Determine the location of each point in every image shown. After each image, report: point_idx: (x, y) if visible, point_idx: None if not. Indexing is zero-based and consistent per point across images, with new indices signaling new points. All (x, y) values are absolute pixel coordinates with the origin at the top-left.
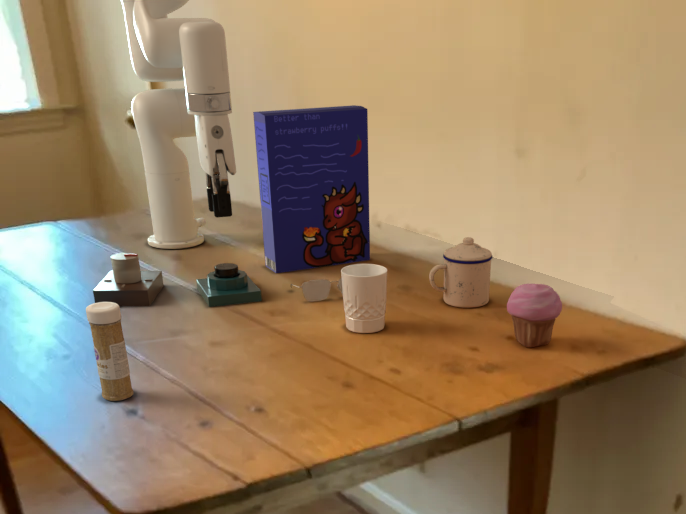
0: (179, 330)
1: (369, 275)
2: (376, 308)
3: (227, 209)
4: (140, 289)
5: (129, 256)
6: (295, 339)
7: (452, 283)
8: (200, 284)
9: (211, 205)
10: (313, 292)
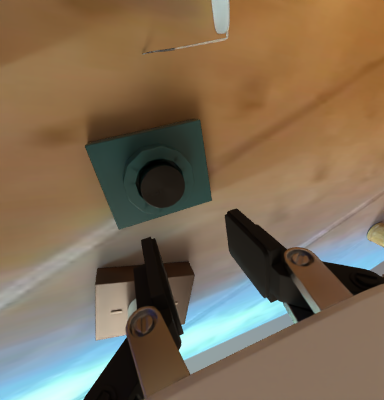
0: (272, 215)
1: None
2: None
3: (259, 227)
4: (189, 282)
5: None
6: (346, 82)
7: None
8: (150, 219)
9: (169, 284)
10: (219, 7)
